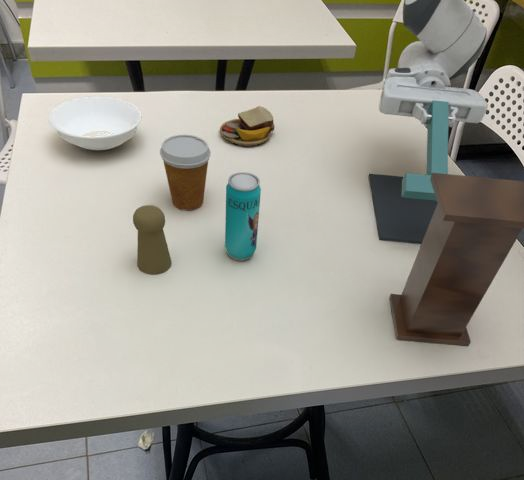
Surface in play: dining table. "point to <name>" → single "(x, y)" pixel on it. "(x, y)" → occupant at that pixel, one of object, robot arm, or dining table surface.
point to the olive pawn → (151, 240)
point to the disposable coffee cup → (186, 169)
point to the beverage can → (242, 215)
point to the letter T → (431, 155)
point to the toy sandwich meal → (249, 127)
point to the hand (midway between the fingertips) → (438, 121)
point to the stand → (458, 257)
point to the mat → (399, 210)
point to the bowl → (95, 121)
